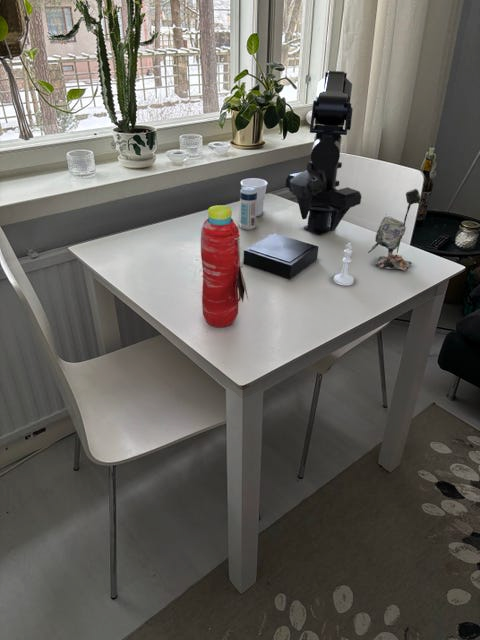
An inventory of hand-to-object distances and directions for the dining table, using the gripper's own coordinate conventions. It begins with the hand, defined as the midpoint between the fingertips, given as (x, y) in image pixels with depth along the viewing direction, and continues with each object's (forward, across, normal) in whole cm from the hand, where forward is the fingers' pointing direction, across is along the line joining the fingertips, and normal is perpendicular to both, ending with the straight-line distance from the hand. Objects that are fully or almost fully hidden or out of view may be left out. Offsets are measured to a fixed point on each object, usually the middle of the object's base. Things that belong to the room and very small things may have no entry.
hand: (317, 224), depth 115 cm
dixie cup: (+13, -41, +14) cm, 45 cm away
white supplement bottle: (+13, -33, +5) cm, 35 cm away
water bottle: (+13, +5, -31) cm, 34 cm away
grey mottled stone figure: (+13, +8, +20) cm, 25 cm away
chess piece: (+13, +7, +4) cm, 15 cm away
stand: (+13, -10, -2) cm, 16 cm away
